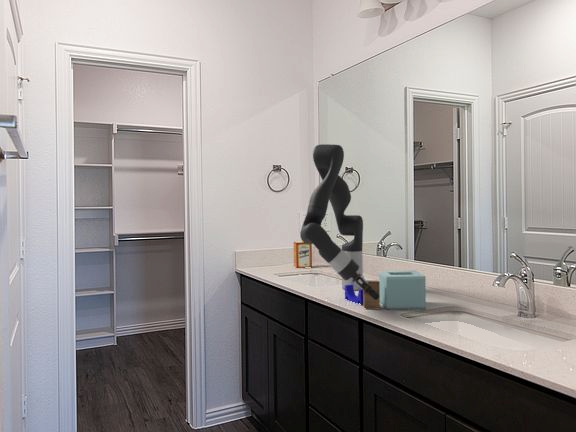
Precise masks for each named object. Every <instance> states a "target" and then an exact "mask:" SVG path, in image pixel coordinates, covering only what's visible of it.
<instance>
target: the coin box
mask: <svg viewBox="0 0 576 432" xmlns="http://www.w3.org/2000/svg"><path fill="white" fill-rule="evenodd" d="M378 279H379V280H378V281H379V282H380V305H382V306H383V307H384V309H395V310H394V311H397V310H399V311H400V310H401V311H402V310H404V311H405V310H413V311H414V310H415V311H417V310H427V309H426V308H427V305H426V304H427V303H426V301H427V300H426V297H427V296H426V293H427V292H426V287H427V285H426V275H423V274H422V273H420V272H418V271H417V270H379V271H378ZM396 309H397V310H396Z"/></svg>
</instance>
